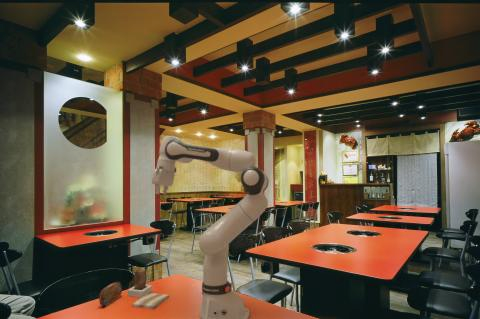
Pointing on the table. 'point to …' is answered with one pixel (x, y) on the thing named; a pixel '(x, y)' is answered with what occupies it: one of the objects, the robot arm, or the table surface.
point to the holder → (139, 291)
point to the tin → (110, 294)
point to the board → (150, 300)
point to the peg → (140, 279)
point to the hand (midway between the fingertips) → (160, 194)
